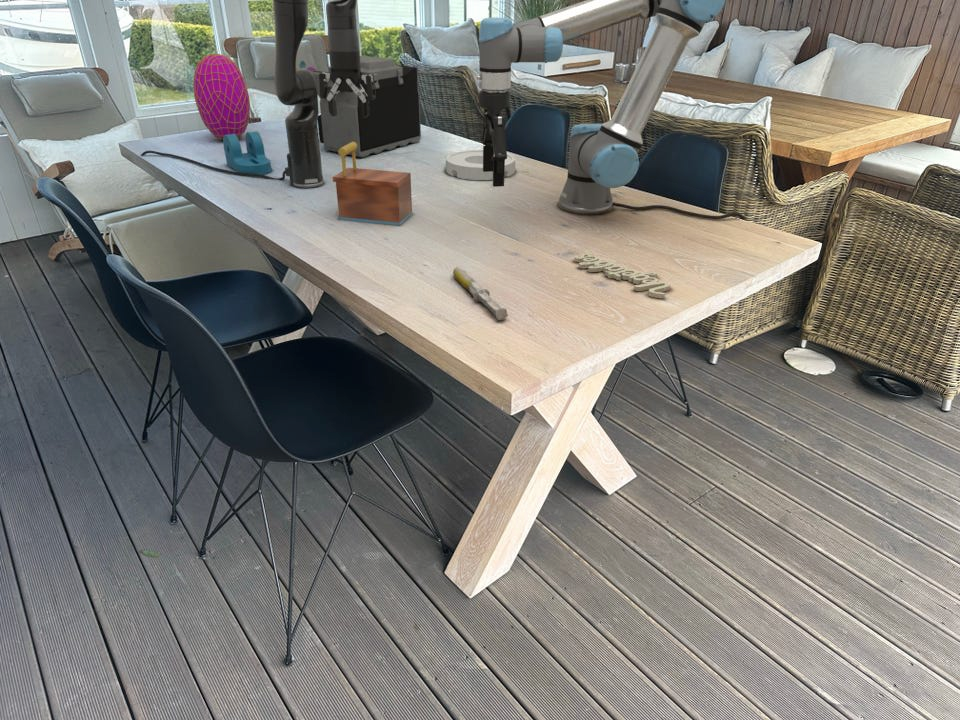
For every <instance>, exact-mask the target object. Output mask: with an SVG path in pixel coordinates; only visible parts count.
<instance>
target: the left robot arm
mask: <svg viewBox="0 0 960 720" xmlns="http://www.w3.org/2000/svg"><path fill="white" fill-rule="evenodd" d="M325 5H326V6H325V14H326V24H327V48H328V59H329V67H330V68H331V73H330V74H329V72H328V73H326V72H327V71H321V72H322V73H320V74H319V86H320V97H321V98H325V99H327V100H328V106H329V113H330V114H331V116H336V115H337V107H336V100H334V99H335V97H336V95H337V94H338V93H339V91H340V92H350V93H352V92H354V93H355V94H356V95H357V96H358V97H359V98H360V99H361V101H362V102H363V103H361V105H362V117H363V118H367V117H368V115H369V113H370V109H369V101H371V100H373V99H375V98H376V93H375V84H374V76H373V74H369V75H362V73H361V64H360V56H361V52H360V39H359V33H358V26H357V23H358V22H357V11H356V10H357V0H330V1H328V2H327V3H326V4H325ZM272 11H273V22H274V23H273V25H274V53H275V54H274V73H273V74H274V75H273V76H274V77H273V78H274V79H273V81H274V83H273V85H274V91H275V94H276V97H277V99H278V101H279V102H280V103H281V104H282V105H284V106H294V108H293V109H292V111H291V112H290V113H289V114H288V115H287V116H286V117H285V120H284V123H285V131H286V138H287V146H288V153H287V154H286V161H287V166H286V167H284V171H283V172H282V174H281V176H282V177H280V178H276V177H273V176H268V175H265V174H250V173H242V172H237V171H235V170H228V169H223V168H219V167H215V166H212V165H208V164H205V163H202V162H199V161H197V160H194V159H190V158H188V157H184V156H181V155H176V154H172V153H164V152H159V151H155V150H145V151H143V152H142V153H141V154H140V156H141V157H144V156H145V155H146V154H154V155H159V156H164V157H172V158H175V159H179V160H183V161H187V162H190V163H192V164H196V165H198V166H201V167H204V168H207V169H211V170H214V171H217V172H222V173H226V174H231V175H240V176H246V177H255V178H256V177H257V178H264V179H267V180H274V181H275V180H276V181H283V180H285V179H286V177H289V184H290V186H294V187H296V188H300V189H301V188H303V189H310V188H317V187H320V186H322V185H324V184H325V182H324V175H323V167H322V157H321V147H320V139H319V130H318V116H319V115H320V114H319V112H320V111H319V96H318V93H317V85H316V81H315V79H314V77H313V75H312V73H311V72H310V71H308V70H306V69H300V68H299V69H296V67H297V55H298V50H299V47H300V45H301V43H302V40H303V38H304V36H305V34H306V31H307V27H308V23H309V0H272ZM329 79H331V81H332V82H333V83H334V85H333V87H332V89H331V90H330V93H328V81H329ZM362 80H364V83H365V84H367V92H368V95H367V94H366V93H365V90H364V89H363V87H362V86H361V82H362Z"/></svg>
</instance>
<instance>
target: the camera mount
mask: <svg viewBox="0 0 960 720" xmlns="http://www.w3.org/2000/svg"><path fill="white" fill-rule="evenodd" d="M222 140H223V141H222V143H223V149H224V150H223V151H224V156H225V161H226V165H227V166H228V167H230V168H231V169H232V170H233V171H235V172H242V173H250V174H261V175H265V174H268V173H271V172H272V164H271V159H270V158H268V157H267V156H266V153H265V145H264V141H263V139H262V136H261V134H260V132H258V131H247V132H246V133H245V146H246V152H243V151H242V150H243V149H242V146H241V142H240V140H239V138H237V136H236V135H235V134H230V135H224V137H223V139H222Z"/></svg>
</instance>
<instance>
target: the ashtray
mask: <svg viewBox="0 0 960 720" xmlns="http://www.w3.org/2000/svg"><path fill="white" fill-rule="evenodd" d="M445 172H446V174H448V175H449V176H453V177H455V176H456V177H457V179H461V180H462V179H463V180H470V181H493V171H492V172H483V149H470V150H469V149H468V150H461V151H456V152H452V153H450V154H448V155H447V156H445ZM515 172H516V158H515V156H514V155H512V154H510V153H507V159H505V171H504V178H505V177H511V176H512V175H514V174H515Z"/></svg>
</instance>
